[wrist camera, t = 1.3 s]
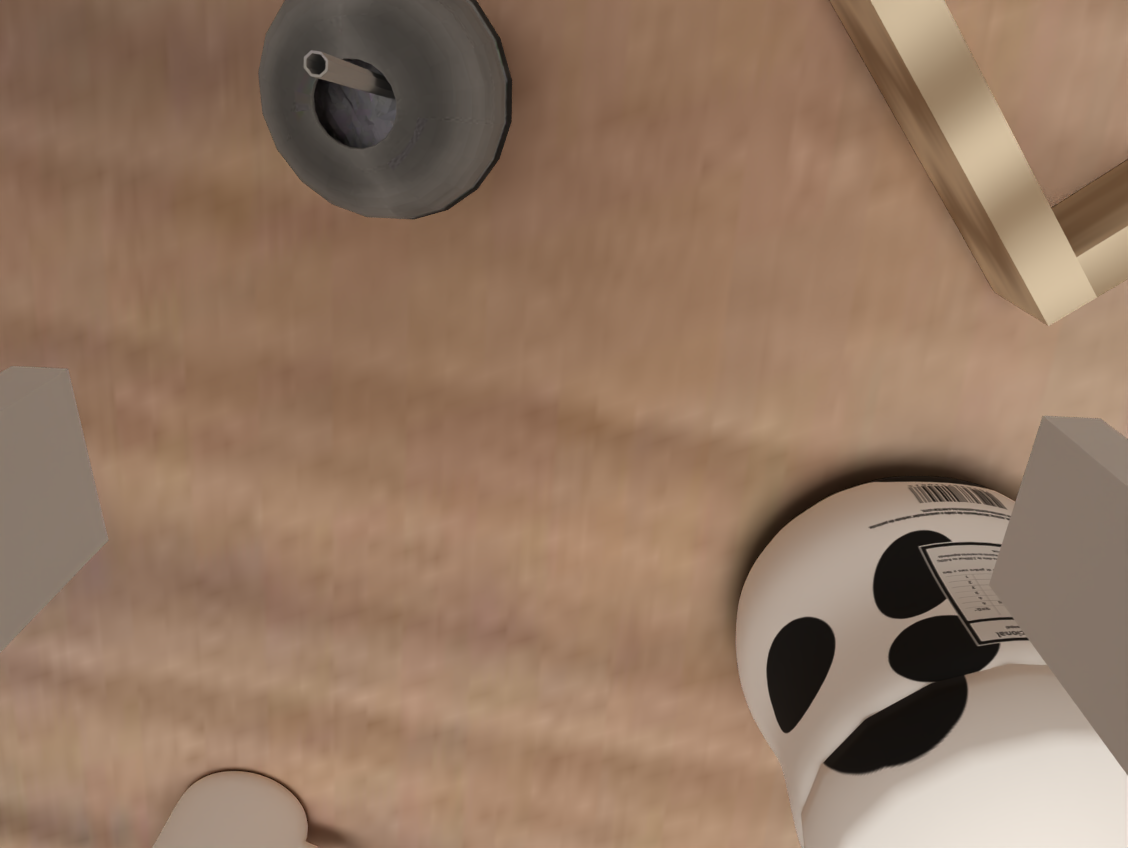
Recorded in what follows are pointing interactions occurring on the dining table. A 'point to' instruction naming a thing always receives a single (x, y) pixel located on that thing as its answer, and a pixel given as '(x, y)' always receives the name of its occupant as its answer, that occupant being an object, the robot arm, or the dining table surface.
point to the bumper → (989, 164)
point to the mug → (236, 815)
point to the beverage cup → (386, 101)
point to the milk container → (915, 682)
